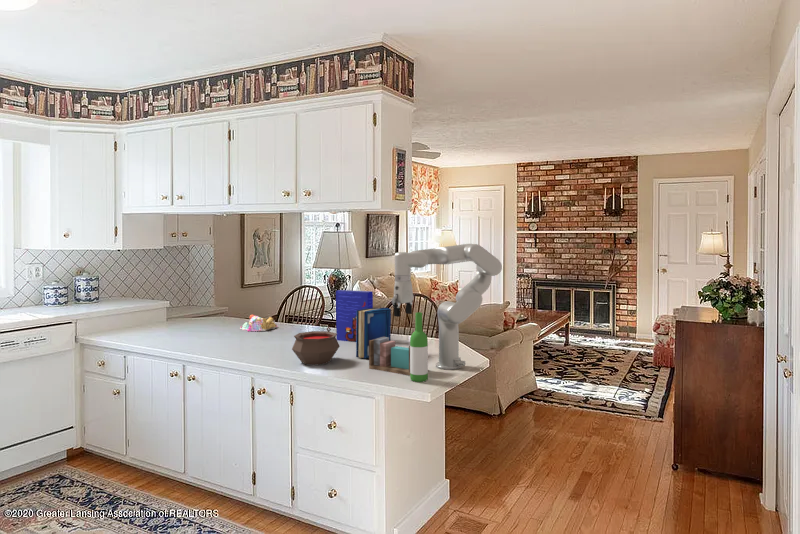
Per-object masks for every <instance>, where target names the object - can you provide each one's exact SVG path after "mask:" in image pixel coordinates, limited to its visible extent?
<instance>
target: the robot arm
mask: <svg viewBox="0 0 800 534" xmlns="http://www.w3.org/2000/svg"><path fill="white" fill-rule="evenodd" d="M467 262H473V263H474V264H475V266H476V267H475V269H476V272H475V276H474V277H473V278H472V279H471V280H470V281H469V282H468V283H467V284H466V285H464V286H463V287H462V288H461V289H459V291H458V292H457V293H456V295H455V301H456V302H453V301H449V300H447V301H443V302H441V303H440V304H439V306H438V307H437V322H438V362H436V363H435V367H436V368H437V369H439V370H440V369H441V370H458V369H460V368H462V367H463V366H465V365H466V361H465V360H461V356H460V355H459V353H460V351H459V350H460V349H459V348H460V347H459V341H460V340H459V334H460V332H459V331H460V329H459V324H462V323H463V322H464V321H466V320H467V319H468V318H469V317H470V316H471V315H473V314H474V313H475V312H476V311H477V310H478V309H479V308H480V307H481V306H482V303H483V294H484V293H485V292H486V291H487V290H488V289H489V288H490V286H491V284H492V277H495V276H498V275H500V273H501V271H502V270H503V266H502V265H503V264H502V262H501V260H499V259H498V258H497V257H496V256H494V255H493V254H492V253H491V252H490V251H488V250H487V249H486V248H484V247H483V246H481V245H480V244H478V243H463V244H457V245H456V244H455V245H449V246H440V247H435V248H426V249H420V250H418V249H417V250H412V251H410V252H407V251H406V252H405V251H400V252H398V251H397V252H395V253H394V287H393V297H392V298H391V304H392V309H393V317H399V318H400V317H401V308H400V306H401V305H402V304H405V313H406V315H407V314H408V315H412V314H413V302H414V299H415V295H414V292H413V283H412V281H411V280H412V276H411V275H412V274H411V273H412V272H411V271H412V268H417V269H420V268H424V267H426V266H428V265H452V264H453V265H454V264H458V263H459V264H460V263H467Z"/></svg>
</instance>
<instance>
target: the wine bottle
mask: <svg viewBox="0 0 800 534" xmlns="http://www.w3.org/2000/svg"><path fill="white" fill-rule="evenodd" d="M414 322H415V330H414V331H413V332H412V334H411V335H410V337H409V338H410V339H409V340H410V341H409V343H410V345H409V346H410V375H409V376H410V380H411V381H412V382H414V381H415V383H423V381H424V382H426V381H427V380H428V376H429V364H428V363H429V361H428V360H429V359H428V357H429V356H428V355H429V354H428V353H429V350H428V349H429V345H428V344H429V342H428V336H427V334H426V333H425V332H424V331H423V312H420V311H417V312H415V321H414Z"/></svg>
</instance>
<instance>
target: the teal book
mask: <svg viewBox="0 0 800 534" xmlns="http://www.w3.org/2000/svg"><path fill="white" fill-rule="evenodd" d="M391 367H397V368H403V369H409V347H405V346H396V345H395V347H392V348H391Z"/></svg>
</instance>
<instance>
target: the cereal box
mask: <svg viewBox="0 0 800 534" xmlns="http://www.w3.org/2000/svg"><path fill="white" fill-rule="evenodd" d="M373 295H374V293H373V291H370V290H369V291H367V290H349V289H338V290H335V313H336V314H335V317H336V318H335V319H336V321H335V325H336V329H335V330H336V332H335V333H336V334H337V335H336V339H337V341H338V342H339V341H342V342H350V343H351V342H352V343H356V322H357V310H362V309H367V308H374V305H373V304H374V302H373V301H374V296H373Z"/></svg>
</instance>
